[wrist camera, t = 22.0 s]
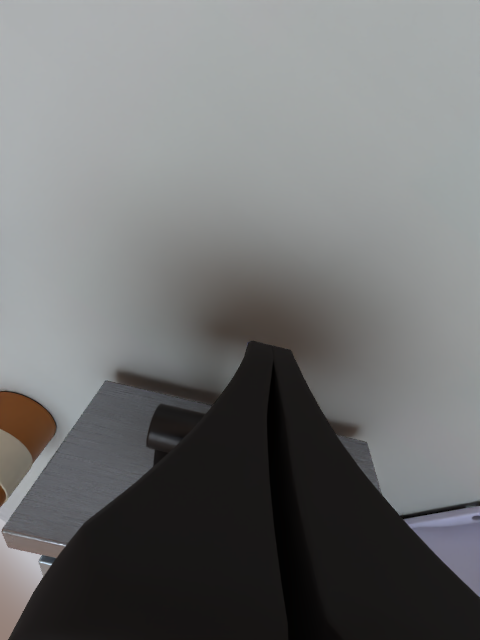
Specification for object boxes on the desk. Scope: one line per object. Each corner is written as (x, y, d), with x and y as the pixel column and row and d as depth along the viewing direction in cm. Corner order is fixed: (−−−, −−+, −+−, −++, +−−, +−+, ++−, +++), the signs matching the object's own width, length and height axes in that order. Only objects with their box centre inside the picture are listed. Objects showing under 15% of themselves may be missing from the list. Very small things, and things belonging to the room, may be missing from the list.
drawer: (103, 313, 13) (-34, 456, 7) (406, 386, 13) (501, 577, 8) (109, 513, 22) (50, 646, 17) (288, 554, 23) (291, 699, 17)
